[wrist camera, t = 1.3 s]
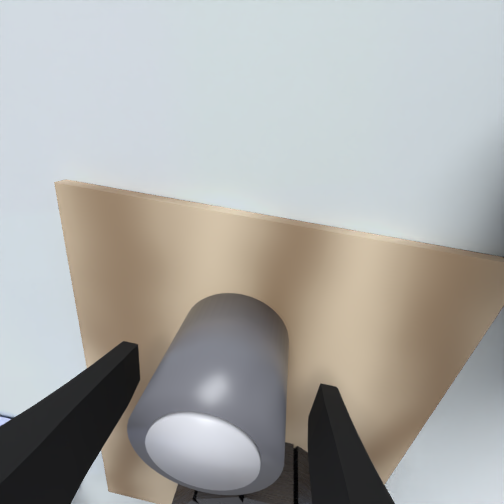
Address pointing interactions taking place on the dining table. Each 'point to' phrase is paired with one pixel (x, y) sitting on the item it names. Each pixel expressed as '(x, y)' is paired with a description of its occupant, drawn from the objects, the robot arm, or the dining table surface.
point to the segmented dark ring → (271, 498)
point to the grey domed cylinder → (218, 399)
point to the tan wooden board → (278, 309)
